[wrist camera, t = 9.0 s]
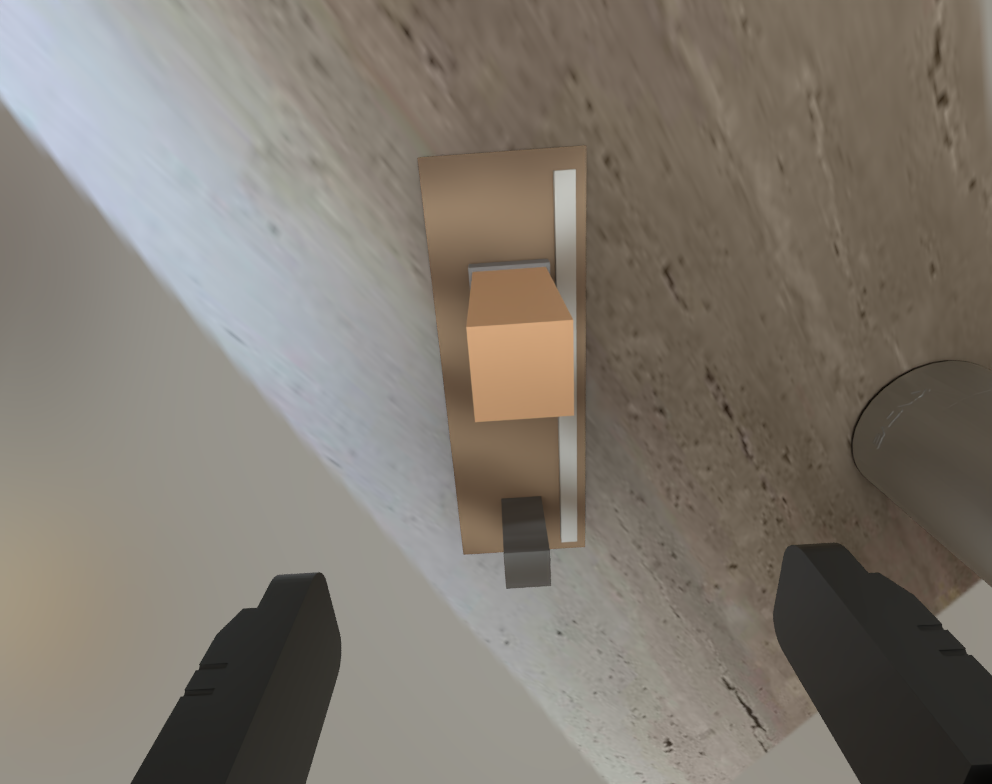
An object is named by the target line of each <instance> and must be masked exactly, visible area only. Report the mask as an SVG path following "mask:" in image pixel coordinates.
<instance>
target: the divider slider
mask: <svg viewBox="0 0 992 784" xmlns="http://www.w3.org/2000/svg"><path fill="white" fill-rule="evenodd" d="M468 273H469V285H470V298H469V307H468V316H467V325H466V330H467V341H468V352H469V362H470V373H471V384H472V395H473V405H474V416H475V422H486V421H501V420H516V419H531V418H546V417H561V416H574V336H573V318H572V316H571V314H570V312H569V310H568V309H567V307H566V305H565V303H564V301H563V299H562V297H561V295H560V293H559V291H558V289H557V287H556V285H555V283H554V281H553V280H552V278H551V276H550V262H549V260H548V259H535V260H521V261H507V262H492V263H478V264H469V265H468Z"/></svg>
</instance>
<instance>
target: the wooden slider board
mask: <svg viewBox="0 0 992 784" xmlns="http://www.w3.org/2000/svg"><path fill="white" fill-rule="evenodd" d="M418 167H419V175H420V184H421V192H422V201H423V210H424V218H425V227H426V235H427V244H428V253H429V261H430V270H431V278H432V287H433V296H434V304H435V313H436V321H437V330H438V339H439V347H440V356H441V364H442V373H443V382H444V390H445V399H446V407H447V416H448V425H449V433H450V442H451V450H452V459H453V468H454V476H455V485H456V493H457V502H458V511H459V519H460V528H461V536H462V545H463V554H480V553H496V552H504V565H505V578H506V589H508V588H524V587H540V586H551V570H550V549H558V548H574V547H585V392H586V145H584V146H569V147H556V148H542V149H528V150H514V151H500V152H487V153H473V154H459V155H445V156H432V157H419V158H418ZM535 259H548V260H549V262H550V276H551V278H552V280H553V281H554V283H555V285H556V287H557V289H558V291H559V293H560V295H561V297H562V299H563V301H564V303H565V305H566V307H567V309H568V310H569V312H570V314H571V316H572V318H573V336H574V416H561V417H546V418H531V419H516V420H501V421H486V422H475V416H474V405H473V395H472V384H471V373H470V362H469V352H468V341H467V330H466V325H467V316H468V307H469V298H470V285H469V273H468V265H469V264H478V263H492V262H507V261H521V260H535Z"/></svg>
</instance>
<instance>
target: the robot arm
mask: <svg viewBox="0 0 992 784" xmlns="http://www.w3.org/2000/svg"><path fill="white" fill-rule="evenodd" d="M853 456H854V460H855V463H856V466H857V467H858V469H859V470H860V472H861V473H862V475H863V476H864V477H865V478H867V479H868V480H869V481H870V482H871V483H872V484H873V485H875V486H876V487H877V488H878V489H879V490H880V491H881V492H883V493H884V494H885V495H886V496H887V497H888V498H890V499H891V500H892V501H893V502H894V503H895V504H896V505H898V506H899V507H900V508H901V509H902V510H903V511H904V512H906V513H907V514H908V515H909V516H910V517H911V518H912V519H913V520H914V521H916V522H917V523H918V524H919V525H920V526H921V527H922V528H924V529H925V530H926V531H927V532H928V533H929V534H931V535H932V536H933V537H934V538H935V539H936V540H938V541H939V542H940V543H941V544H942V545H943V546H945V547H946V548H947V549H948V550H949V551H950V552H951V553H953V554H954V555H955V556H956V557H957V558H958V559H960V560H961V561H962V562H963V563H964V564H965V565H967V566H968V567H969V568H970V569H971V570H972V571H974V572H975V573H976V574H977V575H978V576H979V577H980V578H982V579H983V580H984V581H985V582H986V583H988V584H989V585H990V586H991V587H992V370H989V369H987V368H985V367H982V366H980V365H977V364H973V363H969V362H966V361H945V362H939V363H932V364H929V365H926V366H923V367H920V368H917V369H915V370H913V371H911V372H909V373H907V374H905V375H903V376H901V377H899V378H898V379H897V380H895V381H894V382H892V383H891V384H890V385H888V386H887V387H886V388H884V389H883V390H882V391H881V392H880V393H879V394H878V395H877V396H876V397H875V398H874V399H873V400H872V401H871V403H870V404H869V406H868V407H867V408H866V410H865V411H864V413H863V414H862V416H861V418H860V420H859V422H858V424H857V427H856V430H855V434H854V438H853ZM773 620H774V628H775V632H776V636H777V639H778V642H779V644H780V647H781V649H782V651H783V652H784V654H785V656H786V658H787V659H788V661H789V663H790V664H791V666H792V668H793V669H794V671H795V673H796V675H797V676H798V678H799V680H800V681H801V683H802V685H803V686H804V688H805V690H806V692H807V693H808V695H809V697H810V698H811V700H812V702H813V703H814V705H815V707H816V709H817V710H818V712H819V714H820V715H821V717H822V719H823V720H824V722H825V724H826V725H827V727H828V729H829V731H830V732H831V734H832V736H833V737H834V739H835V741H836V742H837V744H838V746H839V748H840V749H841V751H842V753H843V754H844V756H845V758H846V759H847V761H848V763H849V764H850V766H851V768H852V770H853V771H854V773H855V774H856V776H857V778H858V780H859V781H860V783H861V784H992V675H991V674H990V673H989V672H988V671H987V670H986V669H985V668H984V667H983V666H982V665H981V664H980V663H979V662H978V661H977V660H976V659H975V658H974V657H973V656H972V655H968V654H967V653H966V650H965V647H964V646H963V645H962V644H961V643H960V642H959V641H958V640H957V639H956V638H955V637H954V636H953V635H952V634H951V633H950V632H949V631H948V630H944V629H943V628H942V624H941V623H940V621H939V620H938V619H937V618H936V617H935V616H934V615H933V614H932V613H931V612H930V611H929V610H928V609H927V608H926V607H925V606H924V605H923V604H922V603H921V602H920V601H919V600H918V599H917V598H916V597H915V596H914V595H913V594H911V593H910V592H908V591H907V590H905V589H904V588H902V587H900V586H899V585H897V584H896V583H894V582H893V581H891V580H890V579H888V578H886V577H885V576H883V575H882V574H880V573H868V572H867V571H866V570H865V569H864V567H863V566H862V565H861V564H860V563H859V562H858V561H857V560H856V559H855V558H854V556H853V555H852V554H851V553H850V552H849V551H848V550H847V549H846V548H845V547H844V546H842V545H841V544H839V543H820V544H803V545H791V546H789V547H787V549H786V550H785V553H784V557H783V562H782V567H781V573H780V578H779V584H778V589H777V594H776V600H775V605H774V611H773ZM340 661H341V637H340V632H339V629H338V625H337V621H336V617H335V613H334V609H333V606H332V601H331V598H330V594H329V590H328V586H327V582H326V579H325V577H324V575H323V574H322V573H320V572H319V573H303V574H285V575H277V576H276V577H274V579H272V581H271V583H270V585H269V586H268V588H267V590H266V592H265V594H264V596H263V598H262V600H261V602H260V604H259V606H258V607H257V608H247V609H242V610H241V611H240V612H239V613H238V614H237V615H236V616H235V617H234V618H233V619H232V620H231V621H230V622H229V623H228V624H227V625H226V626H225V627H224V628H223V629H222V630H221V631H220V632H219V633H218V634H217V635H216V637H215V638H214V640H213V642H212V643H211V645H210V647H209V649H208V651H207V652H206V654H205V656H204V657H203V659H202V661H201V663H200V664H199V665H200V668H199V670H196V671H195V673H194V675H193V676H192V678H191V680H190V682H189V683H188V685H187V687H186V688H185V694H184V696H183V697H180V699H179V701H178V702H177V704H176V706H175V708H174V709H173V711H172V713H171V715H170V716H169V718H168V720H167V721H166V723H165V725H164V727H163V728H162V730H161V732H160V733H159V735H158V737H157V739H156V740H155V742H154V744H153V746H152V748H151V749H150V751H149V753H148V754H147V756H146V758H145V759H144V761H143V763H142V765H141V766H140V768H139V770H138V772H137V773H136V775H135V777H134V779H133V780H132V782H131V784H306V780H307V777H308V774H309V770H310V767H311V764H312V760H313V757H314V753H315V750H316V747H317V743H318V740H319V737H320V733H321V730H322V727H323V723H324V720H325V717H326V713H327V710H328V706H329V703H330V700H331V696H332V693H333V690H334V686H335V683H336V680H337V676H338V672H339V668H340Z"/></svg>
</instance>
